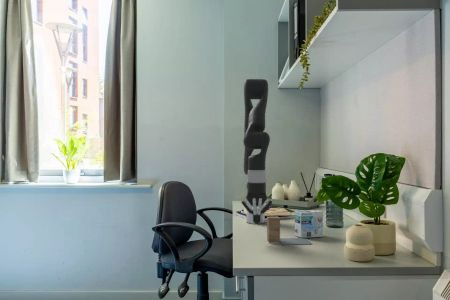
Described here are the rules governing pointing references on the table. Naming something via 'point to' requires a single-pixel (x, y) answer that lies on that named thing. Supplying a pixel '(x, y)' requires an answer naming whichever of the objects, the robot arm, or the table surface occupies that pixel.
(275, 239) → the walnut block
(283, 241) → the rubber mat
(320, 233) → the light bulb box
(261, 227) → the table surface
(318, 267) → the table surface
